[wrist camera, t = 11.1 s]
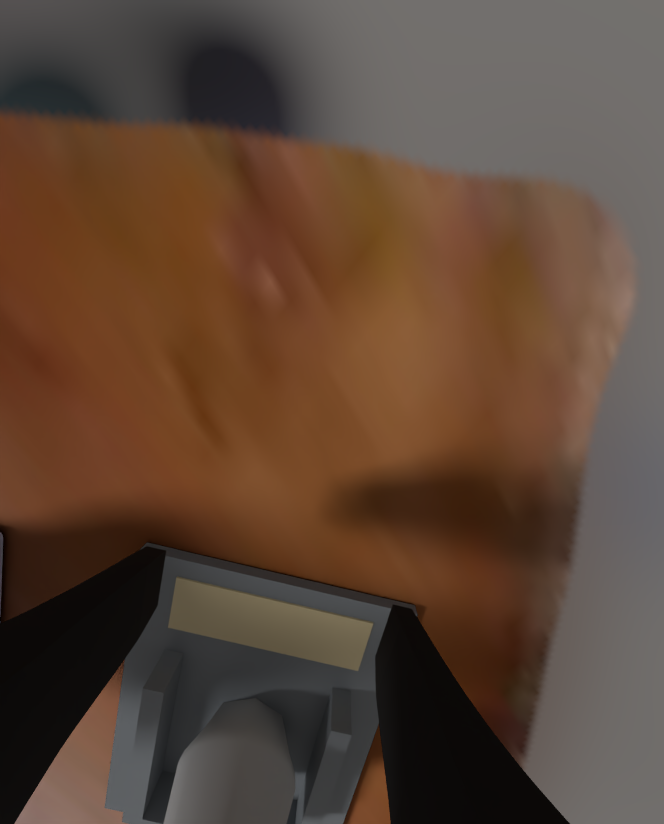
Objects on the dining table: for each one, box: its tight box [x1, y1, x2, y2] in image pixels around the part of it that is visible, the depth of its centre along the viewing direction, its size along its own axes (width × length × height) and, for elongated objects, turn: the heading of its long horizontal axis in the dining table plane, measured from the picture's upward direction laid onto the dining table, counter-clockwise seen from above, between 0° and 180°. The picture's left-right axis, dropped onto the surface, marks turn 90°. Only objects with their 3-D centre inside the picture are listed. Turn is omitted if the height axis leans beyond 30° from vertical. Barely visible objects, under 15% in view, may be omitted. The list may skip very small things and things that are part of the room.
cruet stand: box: [105, 543, 418, 824], centre depth 18 cm, size 14×18×3 cm
